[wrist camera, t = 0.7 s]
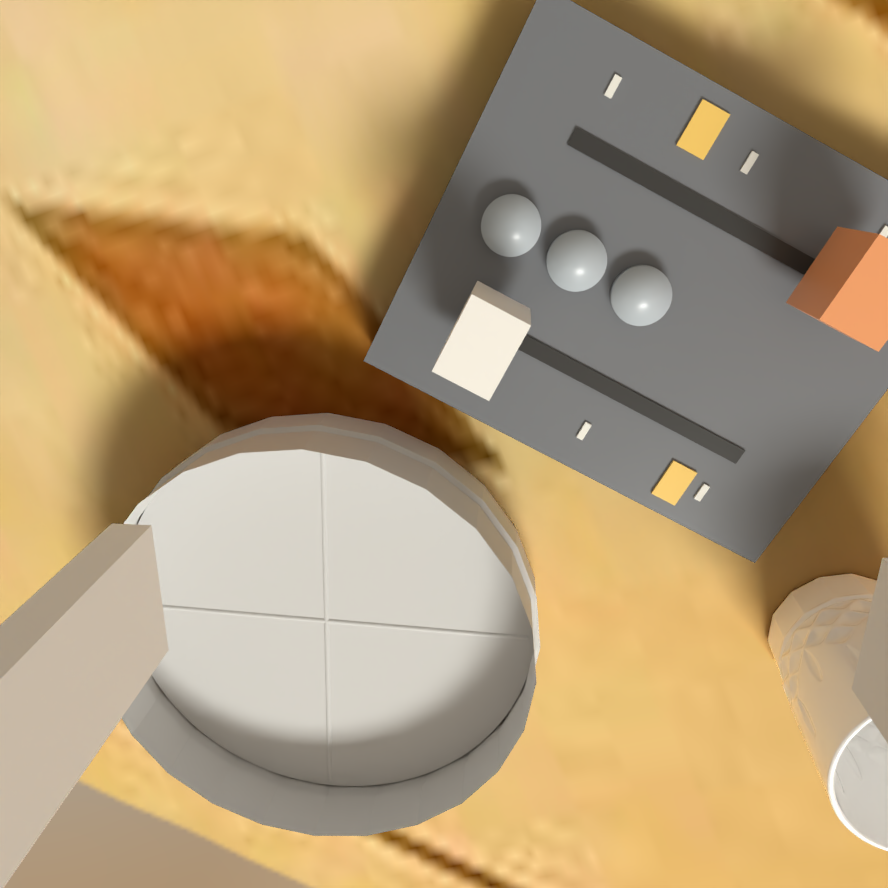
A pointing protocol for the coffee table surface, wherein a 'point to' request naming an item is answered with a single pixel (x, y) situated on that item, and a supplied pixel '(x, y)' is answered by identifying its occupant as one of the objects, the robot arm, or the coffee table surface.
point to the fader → (849, 286)
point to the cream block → (483, 341)
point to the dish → (335, 627)
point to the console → (647, 280)
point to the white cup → (834, 696)
